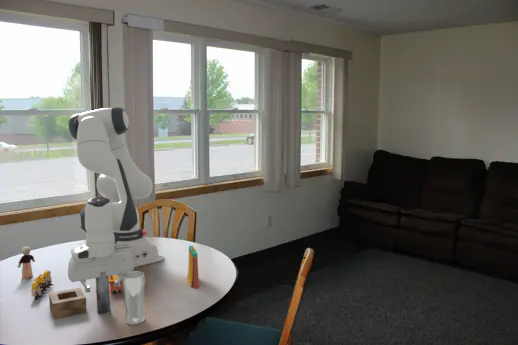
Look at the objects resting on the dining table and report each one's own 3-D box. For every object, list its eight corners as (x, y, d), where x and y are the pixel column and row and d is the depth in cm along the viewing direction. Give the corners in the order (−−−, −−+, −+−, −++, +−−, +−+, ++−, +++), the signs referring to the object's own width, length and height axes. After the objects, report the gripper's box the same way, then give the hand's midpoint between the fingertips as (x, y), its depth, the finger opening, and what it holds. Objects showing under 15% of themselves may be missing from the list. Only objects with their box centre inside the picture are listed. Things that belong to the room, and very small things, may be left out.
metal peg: (108, 307, 157) (106, 267, 155) (111, 312, 154) (109, 270, 152) (96, 310, 155) (94, 269, 153) (98, 314, 152) (96, 273, 150)
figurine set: (28, 301, 162) (27, 283, 161) (44, 284, 178) (43, 267, 178) (38, 301, 163) (37, 283, 162) (54, 284, 179) (53, 267, 178)
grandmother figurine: (25, 281, 181) (23, 249, 179) (17, 280, 182) (14, 248, 180) (38, 274, 188) (36, 243, 187) (30, 273, 189) (28, 243, 188)
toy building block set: (199, 288, 174) (198, 251, 173) (99, 299, 164) (97, 260, 162) (193, 276, 186) (192, 242, 184) (100, 286, 176) (98, 250, 174)
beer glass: (125, 316, 151) (124, 271, 149) (147, 315, 151) (146, 270, 149) (121, 326, 144) (119, 278, 142) (144, 325, 144) (142, 278, 142)
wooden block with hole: (81, 301, 162) (80, 287, 161) (86, 312, 154) (85, 297, 153) (49, 307, 157) (48, 293, 156) (53, 319, 149) (52, 303, 148)
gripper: (130, 241, 159) (131, 280, 161) (65, 250, 149) (68, 291, 151) (135, 245, 154) (137, 286, 156) (68, 255, 144) (71, 298, 146)
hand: (102, 289), depth 153 cm, fingers open, 8 cm apart
